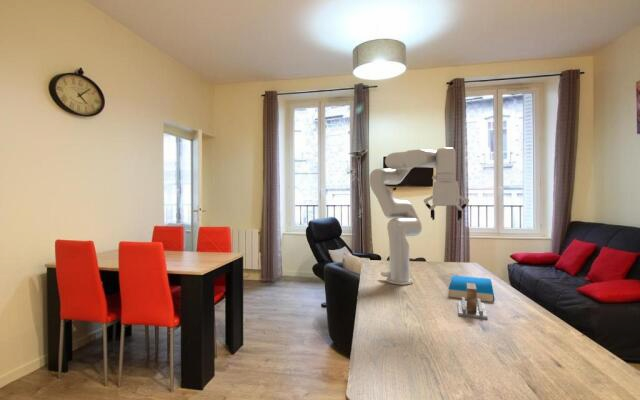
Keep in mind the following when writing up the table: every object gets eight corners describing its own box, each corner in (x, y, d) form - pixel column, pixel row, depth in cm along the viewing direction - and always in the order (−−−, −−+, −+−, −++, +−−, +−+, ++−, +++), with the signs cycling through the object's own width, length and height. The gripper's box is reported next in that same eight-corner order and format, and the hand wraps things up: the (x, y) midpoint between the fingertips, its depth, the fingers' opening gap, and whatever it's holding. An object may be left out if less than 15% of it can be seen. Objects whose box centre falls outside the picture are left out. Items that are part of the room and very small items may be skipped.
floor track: (487, 319, 108) (487, 312, 108) (458, 315, 112) (458, 308, 112) (483, 305, 122) (483, 299, 122) (458, 302, 126) (458, 296, 126)
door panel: (467, 310, 114) (467, 288, 114) (466, 303, 121) (466, 282, 121) (476, 311, 113) (476, 289, 113) (475, 304, 120) (475, 283, 120)
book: (448, 288, 133) (452, 274, 156) (448, 298, 134) (452, 283, 156) (495, 293, 126) (491, 278, 149) (495, 304, 126) (491, 287, 149)
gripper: (422, 178, 130) (422, 220, 130) (469, 177, 123) (469, 221, 124) (424, 179, 137) (424, 219, 137) (468, 178, 130) (468, 219, 130)
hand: (445, 220), depth 130 cm, fingers open, 9 cm apart
